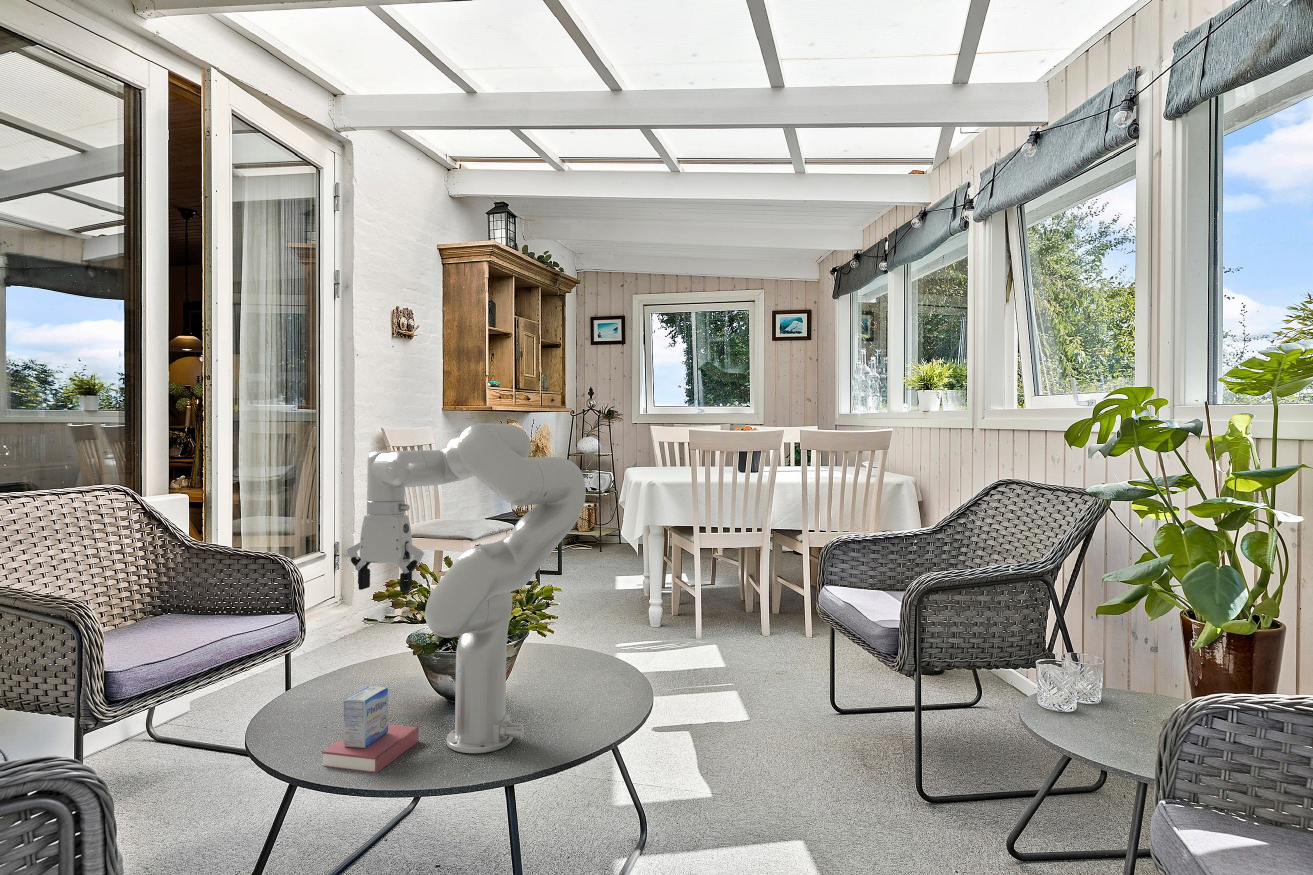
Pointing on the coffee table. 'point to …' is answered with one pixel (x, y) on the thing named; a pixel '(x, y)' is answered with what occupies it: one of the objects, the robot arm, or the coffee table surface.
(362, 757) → the book
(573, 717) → the coffee table surface
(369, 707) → the medicine box
